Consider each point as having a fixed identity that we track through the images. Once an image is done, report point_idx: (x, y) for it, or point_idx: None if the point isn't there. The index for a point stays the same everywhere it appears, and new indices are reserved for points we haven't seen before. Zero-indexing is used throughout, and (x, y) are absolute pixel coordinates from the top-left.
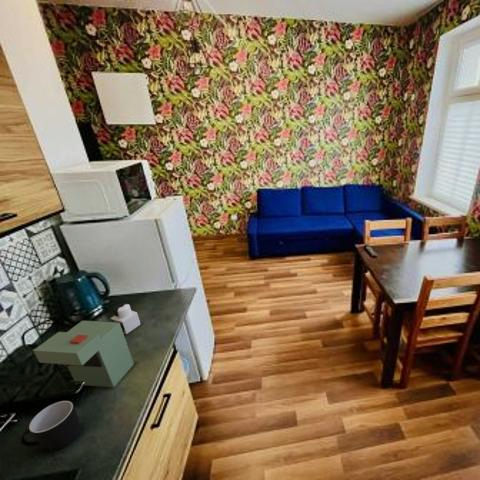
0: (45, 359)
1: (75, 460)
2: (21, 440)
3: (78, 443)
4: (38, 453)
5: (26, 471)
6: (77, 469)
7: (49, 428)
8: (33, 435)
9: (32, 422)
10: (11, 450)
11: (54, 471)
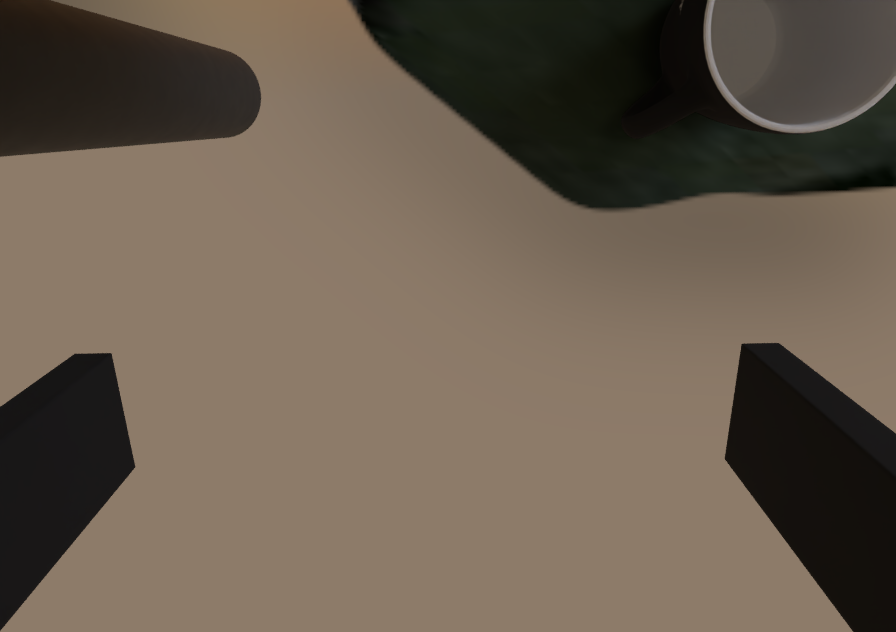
0: None
1: (851, 136)
2: (646, 135)
3: None
4: None
5: (660, 196)
6: (888, 169)
7: (871, 101)
8: (755, 130)
9: (717, 72)
10: (499, 123)
11: (787, 185)
